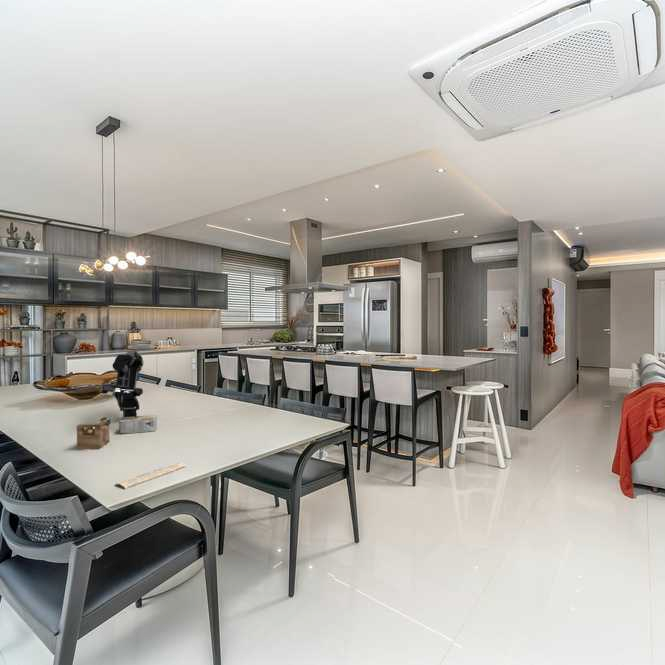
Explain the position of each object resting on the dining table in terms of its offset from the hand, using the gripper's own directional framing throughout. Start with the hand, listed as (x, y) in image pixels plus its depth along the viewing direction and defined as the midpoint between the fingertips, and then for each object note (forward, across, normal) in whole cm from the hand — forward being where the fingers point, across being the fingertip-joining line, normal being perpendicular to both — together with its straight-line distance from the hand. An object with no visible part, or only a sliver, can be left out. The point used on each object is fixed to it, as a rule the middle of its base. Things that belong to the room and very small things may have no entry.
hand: (120, 407), depth 202 cm
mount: (+21, +12, +13) cm, 28 cm away
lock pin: (+15, +11, +12) cm, 22 cm away
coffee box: (+8, -16, +6) cm, 19 cm away
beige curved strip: (+42, +4, +61) cm, 74 cm away
